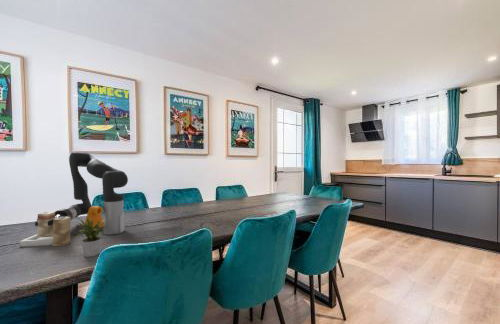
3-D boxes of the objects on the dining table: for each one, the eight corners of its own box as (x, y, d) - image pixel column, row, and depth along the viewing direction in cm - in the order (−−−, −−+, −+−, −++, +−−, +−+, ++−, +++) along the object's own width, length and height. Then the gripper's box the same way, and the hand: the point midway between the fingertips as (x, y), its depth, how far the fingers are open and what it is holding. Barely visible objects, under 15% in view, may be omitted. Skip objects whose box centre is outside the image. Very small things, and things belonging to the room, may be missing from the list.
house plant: (56, 261, 89) (56, 218, 89) (84, 248, 103) (84, 211, 103) (92, 262, 88) (92, 219, 88) (115, 248, 102) (115, 211, 102)
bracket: (95, 229, 131) (95, 208, 131) (84, 228, 132) (84, 207, 132) (109, 224, 142) (110, 204, 142) (99, 223, 143) (99, 204, 143)
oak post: (70, 242, 110) (70, 216, 110) (64, 245, 105) (64, 219, 105) (59, 242, 109) (59, 217, 109) (53, 246, 104) (53, 219, 104)
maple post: (54, 234, 114) (55, 211, 114) (48, 237, 109) (48, 213, 109) (44, 234, 113) (44, 211, 113) (37, 237, 109) (37, 214, 109)
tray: (69, 236, 119) (69, 231, 119) (52, 245, 106) (52, 239, 106) (40, 237, 117) (40, 232, 117) (19, 246, 104) (19, 241, 104)
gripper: (50, 208, 124) (24, 216, 107) (79, 208, 127) (59, 215, 110) (49, 222, 124) (24, 232, 107) (79, 221, 127) (59, 231, 110)
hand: (42, 223), depth 109 cm, fingers closed on maple post, 4 cm apart
